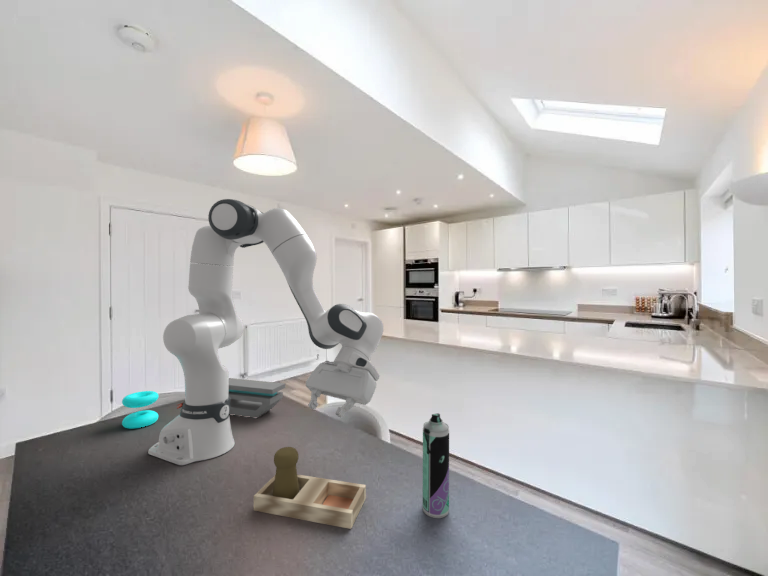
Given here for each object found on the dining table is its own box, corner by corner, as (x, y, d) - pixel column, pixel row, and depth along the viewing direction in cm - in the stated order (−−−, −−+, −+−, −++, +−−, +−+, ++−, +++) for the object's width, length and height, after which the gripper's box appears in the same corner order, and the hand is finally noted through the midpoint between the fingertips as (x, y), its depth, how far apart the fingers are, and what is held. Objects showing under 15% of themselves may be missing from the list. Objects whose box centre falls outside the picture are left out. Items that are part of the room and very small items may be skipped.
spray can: (443, 522, 66) (443, 421, 66) (418, 512, 69) (418, 415, 69) (452, 506, 71) (453, 412, 71) (429, 497, 73) (429, 407, 73)
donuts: (159, 388, 119) (157, 396, 111) (159, 416, 119) (157, 426, 111) (124, 392, 114) (119, 401, 106) (124, 421, 114) (119, 432, 106)
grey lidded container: (285, 412, 123) (285, 383, 123) (272, 420, 115) (272, 389, 115) (229, 405, 130) (229, 377, 130) (213, 413, 123) (214, 383, 122)
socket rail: (253, 510, 69) (253, 496, 69) (278, 484, 78) (278, 471, 78) (351, 529, 64) (351, 513, 64) (365, 498, 73) (365, 484, 73)
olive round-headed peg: (292, 511, 69) (292, 458, 69) (265, 507, 70) (266, 455, 70) (305, 493, 75) (305, 444, 75) (280, 490, 76) (280, 442, 76)
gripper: (316, 353, 95) (289, 397, 86) (375, 363, 83) (350, 414, 75) (327, 366, 98) (302, 409, 90) (385, 377, 87) (362, 427, 79)
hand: (324, 411), depth 82 cm, fingers open, 8 cm apart
